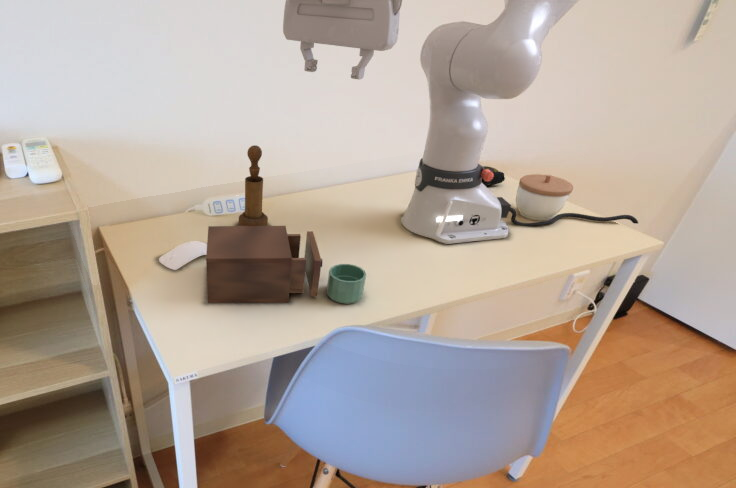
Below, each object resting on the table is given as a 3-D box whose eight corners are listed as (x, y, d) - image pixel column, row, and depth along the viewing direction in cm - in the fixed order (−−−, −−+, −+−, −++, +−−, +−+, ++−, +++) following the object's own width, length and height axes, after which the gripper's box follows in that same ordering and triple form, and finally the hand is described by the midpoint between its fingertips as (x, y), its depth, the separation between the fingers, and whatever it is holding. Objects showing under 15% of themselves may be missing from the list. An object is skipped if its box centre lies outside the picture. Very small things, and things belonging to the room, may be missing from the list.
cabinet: (282, 267, 103) (285, 225, 98) (288, 302, 93) (291, 257, 88) (209, 268, 104) (208, 226, 98) (207, 303, 94) (206, 258, 88)
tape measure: (481, 190, 133) (485, 176, 131) (463, 181, 138) (467, 167, 136) (502, 186, 135) (507, 172, 133) (483, 177, 140) (488, 163, 138)
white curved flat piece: (154, 259, 107) (153, 249, 105) (201, 242, 112) (201, 232, 111) (173, 272, 102) (172, 261, 101) (220, 253, 108) (220, 243, 107)
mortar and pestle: (268, 221, 120) (271, 141, 109) (267, 233, 115) (270, 151, 104) (239, 220, 121) (240, 141, 110) (237, 232, 116) (237, 151, 105)
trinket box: (536, 228, 116) (552, 187, 110) (499, 210, 123) (512, 171, 118) (570, 219, 119) (588, 179, 113) (532, 202, 127) (546, 164, 121)
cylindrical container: (358, 286, 98) (362, 263, 95) (365, 305, 93) (369, 282, 90) (324, 286, 98) (326, 263, 95) (329, 305, 93) (332, 282, 90)
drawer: (315, 265, 102) (319, 231, 98) (324, 296, 93) (328, 260, 89) (241, 265, 102) (241, 231, 98) (242, 297, 93) (242, 261, 89)
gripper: (415, -22, 77) (397, 80, 86) (302, -26, 88) (296, 65, 97) (395, -20, 73) (378, 86, 82) (280, -24, 84) (275, 70, 93)
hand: (333, 74), depth 89 cm, fingers open, 8 cm apart
